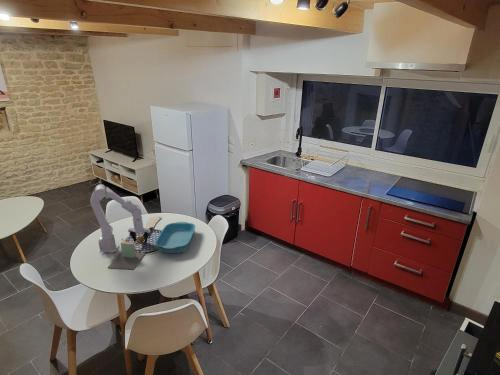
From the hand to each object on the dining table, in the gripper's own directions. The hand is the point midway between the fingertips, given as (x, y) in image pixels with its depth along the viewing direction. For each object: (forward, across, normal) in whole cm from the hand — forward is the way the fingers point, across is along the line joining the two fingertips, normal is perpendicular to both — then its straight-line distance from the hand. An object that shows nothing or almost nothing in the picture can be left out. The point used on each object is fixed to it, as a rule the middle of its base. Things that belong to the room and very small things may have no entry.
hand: (140, 241), depth 213 cm
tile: (-4, 0, +17) cm, 18 cm away
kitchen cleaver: (+2, +3, -23) cm, 23 cm away
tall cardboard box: (+1, 0, +3) cm, 3 cm away
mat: (+1, 0, +20) cm, 20 cm away
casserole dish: (+2, -24, -4) cm, 24 cm away
